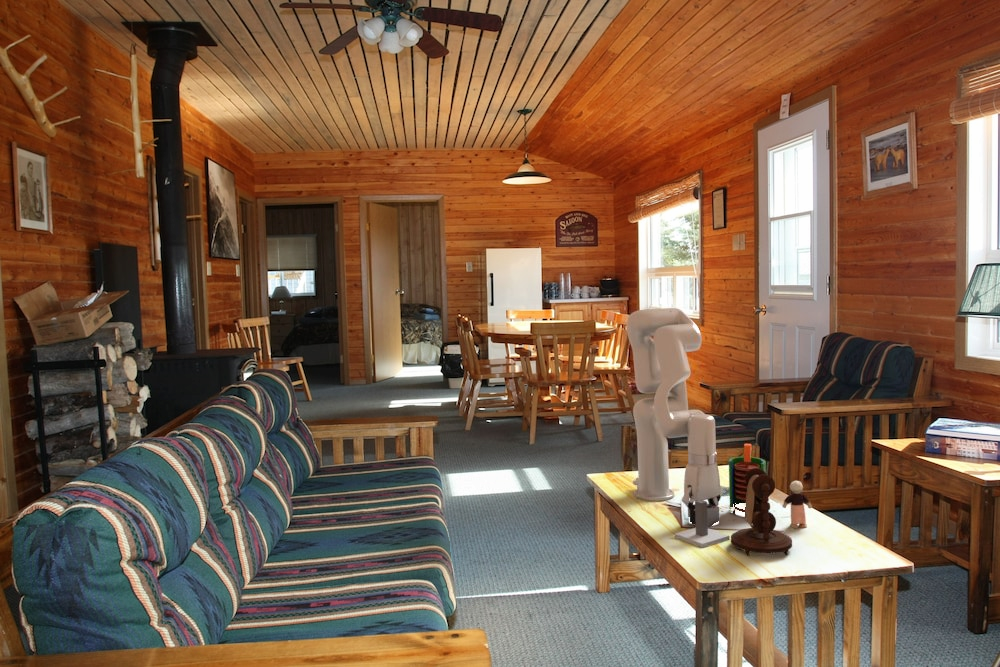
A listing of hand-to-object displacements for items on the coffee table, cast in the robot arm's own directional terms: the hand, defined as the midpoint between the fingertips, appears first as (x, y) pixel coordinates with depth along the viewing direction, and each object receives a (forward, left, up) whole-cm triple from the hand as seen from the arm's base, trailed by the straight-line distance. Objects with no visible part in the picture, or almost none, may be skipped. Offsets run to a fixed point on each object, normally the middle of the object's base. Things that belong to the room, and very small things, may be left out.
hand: (703, 521), depth 211 cm
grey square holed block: (0, 0, -1) cm, 1 cm away
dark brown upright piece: (+22, -3, -1) cm, 23 cm away
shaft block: (+8, -9, -1) cm, 12 cm away
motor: (+1, +17, -1) cm, 17 cm away
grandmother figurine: (+17, +18, -1) cm, 25 cm away
